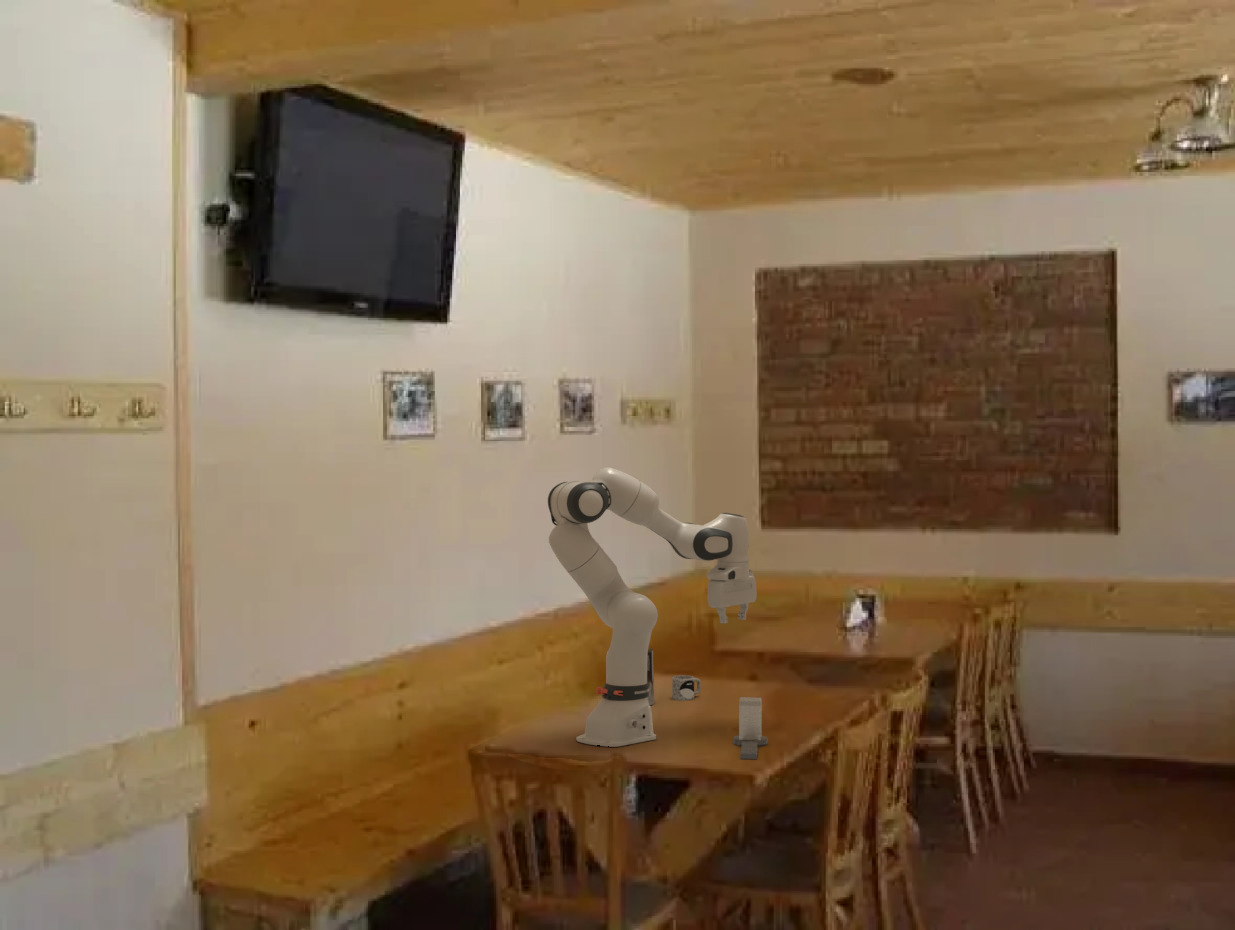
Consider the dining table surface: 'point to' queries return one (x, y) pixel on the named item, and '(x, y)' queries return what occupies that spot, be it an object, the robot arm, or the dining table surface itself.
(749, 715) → the upright grey pillar
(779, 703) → the dining table surface
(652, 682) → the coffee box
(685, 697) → the mug
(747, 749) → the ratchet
